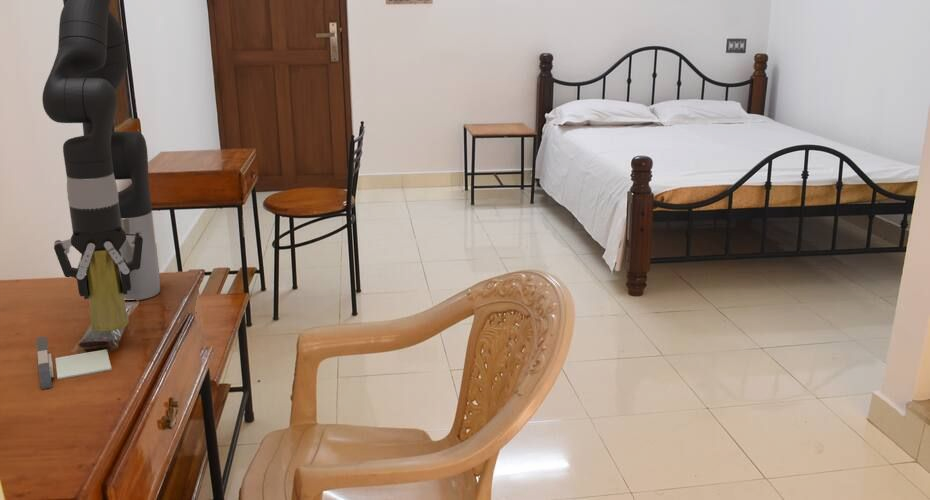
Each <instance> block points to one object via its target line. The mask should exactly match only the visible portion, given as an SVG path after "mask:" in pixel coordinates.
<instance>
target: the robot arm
mask: <svg viewBox="0 0 930 500" xmlns="http://www.w3.org/2000/svg"><path fill="white" fill-rule="evenodd" d="M111 1H112V0H62V2H63V7H62V10H61V13H60V17H59V23H58V24H59V27H58V45H57V53H56V56H55V58H54V59H55V60H54V62H53V65H52V67H51V70H50V72H49V75H48V77H47V79H46V82H45V84H44V88H43V91H42V96H41V97H42V98H41V99H42V106H43V110H44V112H45V114H46V115H47V117H49V119H50V120H52V121H53V122H55V123H58V124H59V123H60V124H82V132H83V135H79V136H76V137H72V138H69V139H66V140H65V141H64V143H63V145H62V153H63V160H64V166H65V167H64V168H65V172H66V173H65V175H66V193H67V201H68V208H69V213H70V221H71V229H72V235H71V237H70V239H66V240H60V239H57V240H54V244H53V247H54V248H53V249H54V252H55V254H56V255H55V256H56V257H57V260H58V263H59V265H60V267H61V270H62V272H63V276H64V277H65V278H73V279H76V280H77V287H78V289H77V290H78V294H79V296H80V297H83V299H84V300H88V299H89V294H88V286H87V278H86V271H87V268H88V266H89V263H90V260H91V257H92V254H93V252H94V251H101V250H107V251H108V252H109V254H110V255H111V257H112V258H113V260H114V262H115V263H116V264H117V265H118V267H119V271H120V277H121V282H122V289H123V295H124V298H126V299H138V300H137V301H141V300H146V299H149V298H152V297H155V296H156V295H158V294H159V293H160V292H161V277H160V267H159V256H158V247H157V242H156V236H155V226H154V219H153V210H152V209H153V207H152V200H151V190H150V180H149V162H148V161H149V158H148V157H149V156H148V147H147V141H146V138H145V137H144V135H143V134H142V132H140V131H136V130H135V131H134V130H133V131H128V130H127V131H113V127H114V121H115V116H116V111H117V106H118V96H117V92H116V91H117V90H119V87H120V85H121V83H122V81H123V79H124V78H125V76H126V73H127V70H128V64H129V63H128V55H127V47H126V39H125V33H124V31H123V29H122V25H121V24H120V22H119V21H118V19H117V18H116V16H115V15H114V13H112V11H111V10H110V7H111ZM116 180H117V181H118V180H131V183H130V184H129V185H128V186H127V187H125V188H124V189H122V190H120V191H118V186H117V181H116ZM71 247H73V248H74V250H75V249H76V251H78V252H79V253H80V254H81V256H80V259H79V263H78V265H77V267H72V265H71V261H70V259H69V256H68V254H69V253H70V248H71ZM86 260H87V261H86Z"/></svg>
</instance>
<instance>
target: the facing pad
mask: <svg viewBox="0 0 930 500" xmlns="http://www.w3.org/2000/svg"><path fill="white" fill-rule="evenodd" d="M55 368H56V376H57V380H63V379H69V378H75V377H80V376H85V375H92V374H96V373H97V374H98V373H101V372H108V371H112V370H113V369H112V365H111V361H110V357H109V353H108V349H107V348H106V349H100V350H95V351H89V352H83V353H77V354H71V355H66V356H64V355H63V356H60V357H55Z"/></svg>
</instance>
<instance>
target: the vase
mask: <svg viewBox="0 0 930 500" xmlns="http://www.w3.org/2000/svg"><path fill="white" fill-rule="evenodd" d="M86 261H87V260H86ZM85 275H86V278H87V286H88V294H89V300H88V301H89V312H90V328H91V330H92V331H95V332H100V333H101V332H102V333H103V332H104V333H105V332H112V331H118V330H120V329H122V328H125V327H126V326H128V325H129V322H130V321H129V317H128V313H127V309H126V301H125V300H124V295H123V289H122V282H121V277H120V271H119V267H118V265H117V264H116V263H115V262H114V260H113V258H112V257H111V255H110V254H109V252H108V251H107V250H101V251H94V252H93V254H92V257H91V260H90V263H89V266H88V268H87V271H86V274H85Z"/></svg>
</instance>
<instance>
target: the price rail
mask: <svg viewBox="0 0 930 500" xmlns="http://www.w3.org/2000/svg"><path fill="white" fill-rule="evenodd" d="M35 340H36V349H37V352H36V353H37V366H38V377H39V382H40V388H41V390H47V389H51V388H53V383H52V378H54V377H55V376H54V366H53V359H52V354H51V353H49V352H50V351H49V346H48V339H47V336H41V337H36V339H35Z"/></svg>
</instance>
